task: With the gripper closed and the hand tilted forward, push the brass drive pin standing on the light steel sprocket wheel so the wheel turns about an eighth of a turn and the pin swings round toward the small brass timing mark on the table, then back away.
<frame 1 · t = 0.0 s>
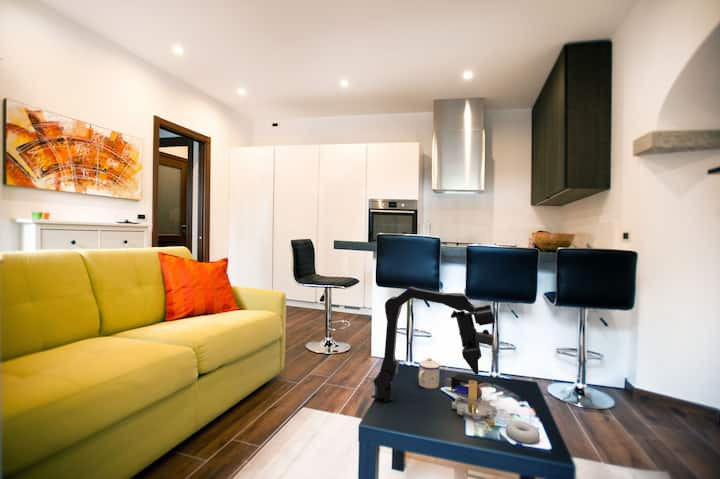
hand: (476, 370, 132), 15 cm above the table, tool pointing down, fingers open, 9 cm apart
timing mark: (489, 423, 124), on the table
teacup with lid: (426, 386, 156), on the table
donut: (522, 437, 116), on the table
sprocket wheel: (474, 392, 132), point 7 cm above the table, hinge at 0.0°
figurine character: (463, 395, 149), on the table
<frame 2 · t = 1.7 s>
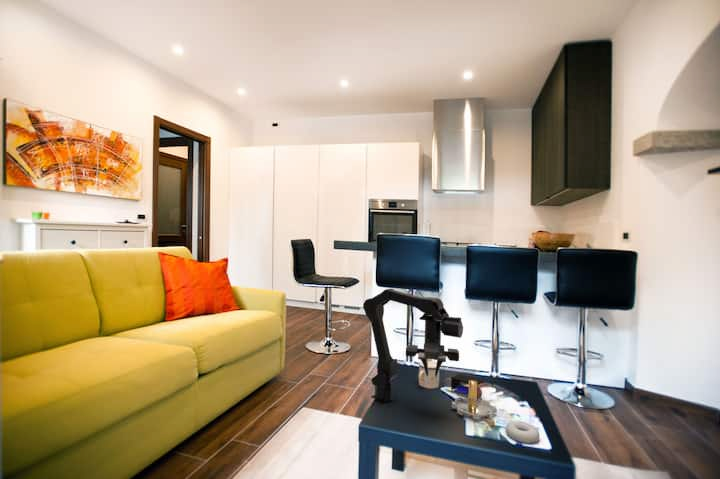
hand: (431, 376, 131), 13 cm above the table, tool pointing down, fingers open, 3 cm apart
nothing on the table moved.
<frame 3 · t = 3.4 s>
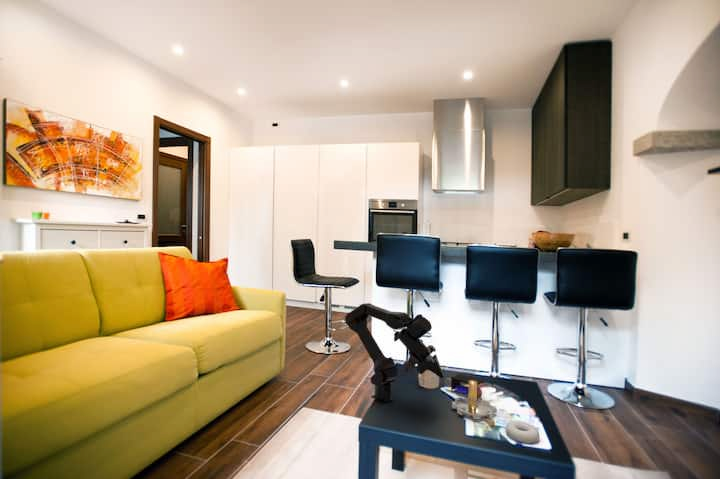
hand: (442, 377, 130), 13 cm above the table, tool tilted 45°, fingers closed
nothing on the table moved.
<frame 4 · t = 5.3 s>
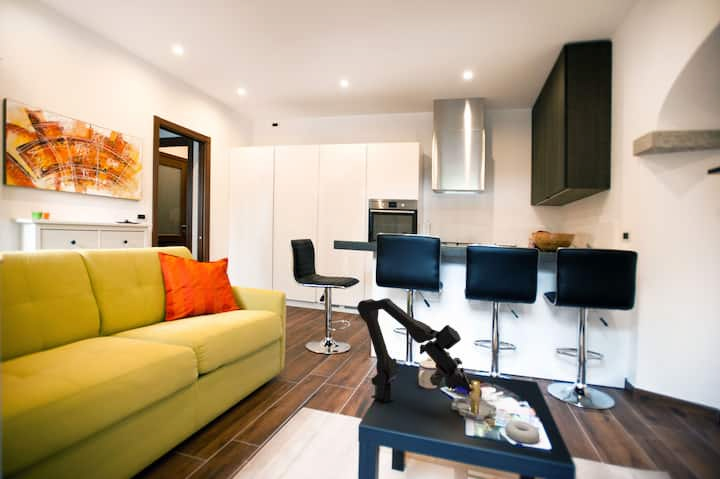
hand: (470, 391, 127), 10 cm above the table, tool tilted 45°, fingers closed
sprocket wheel: (474, 392, 132), point 7 cm above the table, hinge at 9.2°, touching gripper
everything else where it was.
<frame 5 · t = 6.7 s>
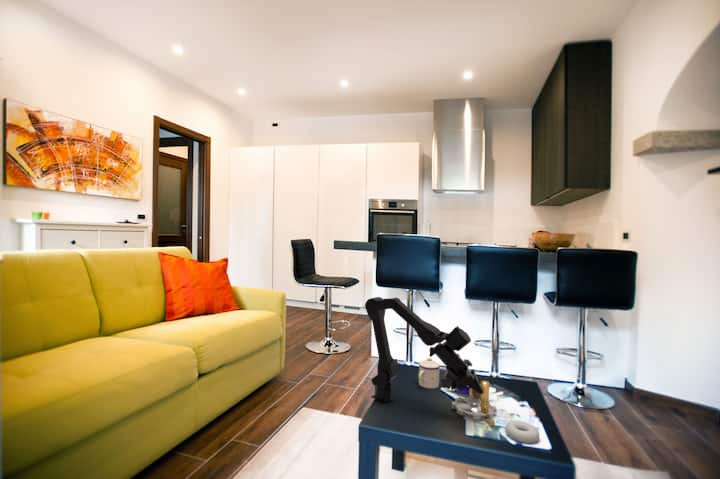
hand: (481, 393, 126), 10 cm above the table, tool tilted 45°, fingers closed
sprocket wheel: (474, 392, 132), point 7 cm above the table, hinge at 45.4°, touching gripper
everything else where it was.
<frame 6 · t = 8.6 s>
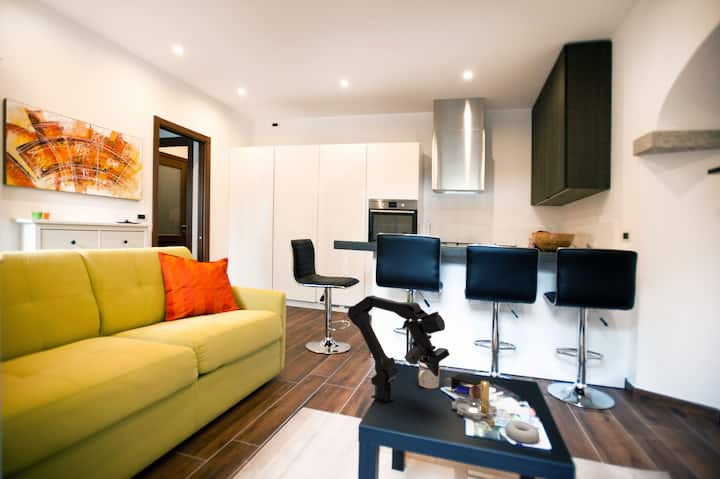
hand: (437, 376, 132), 13 cm above the table, tool tilted 25°, fingers closed
sprocket wheel: (474, 392, 132), point 7 cm above the table, hinge at 45.4°
everything else where it was.
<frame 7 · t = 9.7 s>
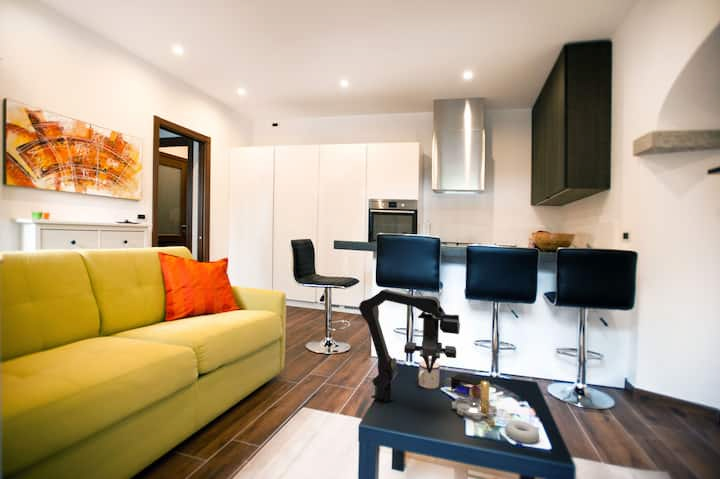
hand: (429, 372, 135), 13 cm above the table, tool pointing down, fingers closed
nothing on the table moved.
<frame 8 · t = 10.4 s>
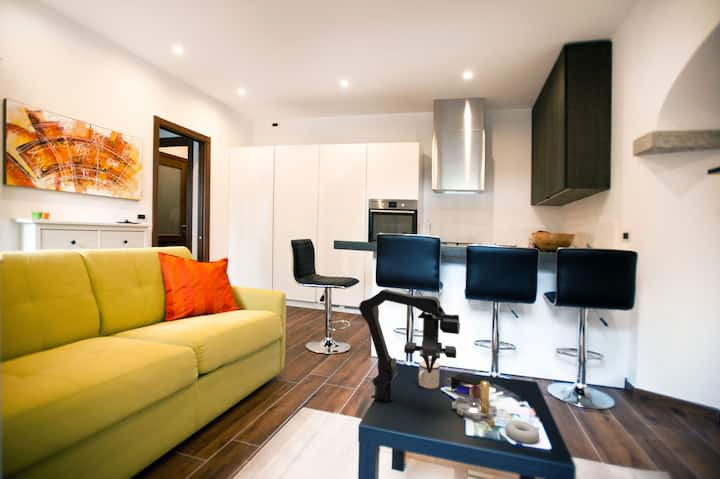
hand: (429, 372, 135), 13 cm above the table, tool pointing down, fingers closed
nothing on the table moved.
at the end: sprocket wheel at +45° (first picture: +0°) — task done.
